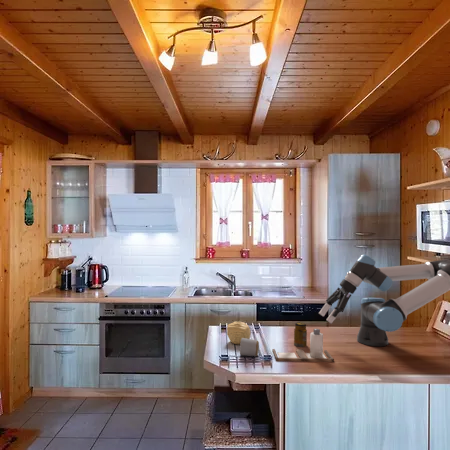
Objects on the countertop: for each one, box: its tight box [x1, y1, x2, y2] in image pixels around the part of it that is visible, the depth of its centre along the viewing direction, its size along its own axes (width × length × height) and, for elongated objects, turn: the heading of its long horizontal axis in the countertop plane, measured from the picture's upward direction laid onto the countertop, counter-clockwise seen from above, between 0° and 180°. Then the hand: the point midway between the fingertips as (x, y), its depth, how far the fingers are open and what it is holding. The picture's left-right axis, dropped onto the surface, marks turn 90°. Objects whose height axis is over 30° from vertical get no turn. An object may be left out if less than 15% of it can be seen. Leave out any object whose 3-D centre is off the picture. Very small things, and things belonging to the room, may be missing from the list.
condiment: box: [293, 321, 308, 348], centre depth 175 cm, size 7×8×12 cm
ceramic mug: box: [239, 338, 260, 357], centre depth 165 cm, size 11×8×8 cm
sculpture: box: [226, 321, 252, 346], centre depth 182 cm, size 12×12×11 cm
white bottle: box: [309, 328, 324, 358], centre depth 160 cm, size 6×6×12 cm
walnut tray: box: [272, 348, 335, 363], centre depth 160 cm, size 25×12×2 cm, turn 90°
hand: (324, 318), depth 173 cm, fingers open, 13 cm apart
